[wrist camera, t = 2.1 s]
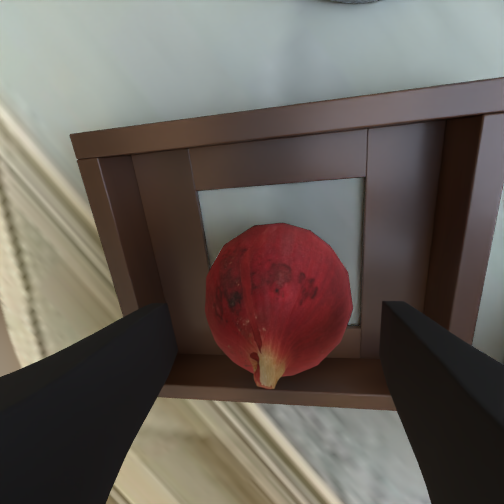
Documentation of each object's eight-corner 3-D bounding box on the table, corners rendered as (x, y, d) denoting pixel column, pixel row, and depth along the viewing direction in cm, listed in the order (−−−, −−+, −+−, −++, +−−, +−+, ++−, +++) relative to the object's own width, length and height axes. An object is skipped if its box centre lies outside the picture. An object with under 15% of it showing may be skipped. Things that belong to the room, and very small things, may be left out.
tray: (474, 88, 11) (526, 73, 9) (433, 371, 16) (458, 415, 14) (110, 135, 14) (68, 133, 12) (167, 362, 19) (146, 397, 16)
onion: (207, 244, 16) (122, 338, 8) (299, 182, 14) (296, 233, 6) (268, 324, 17) (242, 468, 9) (360, 277, 15) (418, 413, 7)
